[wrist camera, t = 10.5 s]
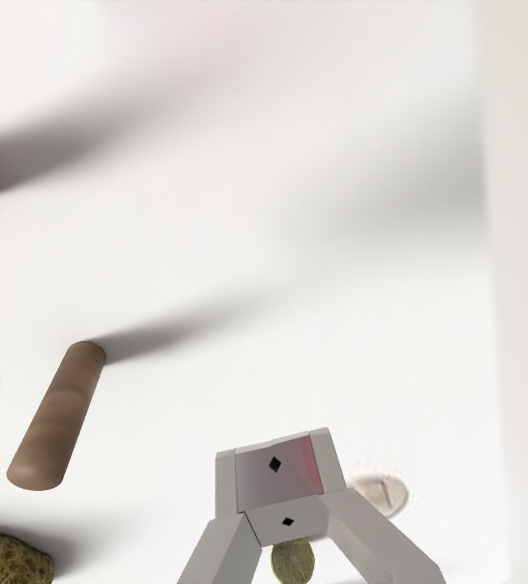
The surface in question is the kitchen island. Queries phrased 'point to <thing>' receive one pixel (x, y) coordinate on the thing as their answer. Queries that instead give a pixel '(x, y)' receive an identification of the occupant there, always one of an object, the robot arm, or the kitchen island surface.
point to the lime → (293, 561)
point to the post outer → (58, 420)
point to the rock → (23, 563)
